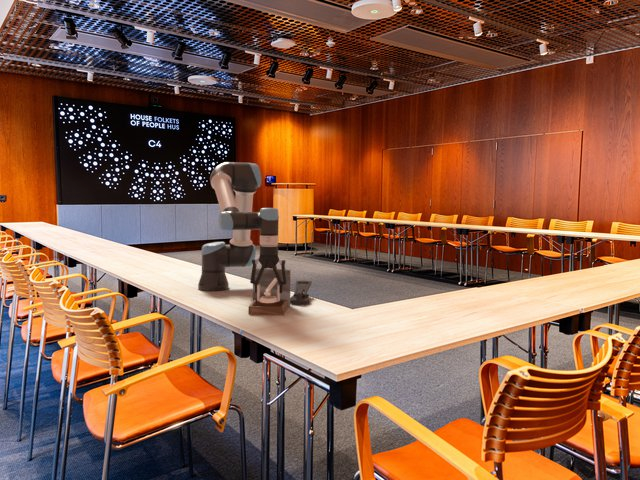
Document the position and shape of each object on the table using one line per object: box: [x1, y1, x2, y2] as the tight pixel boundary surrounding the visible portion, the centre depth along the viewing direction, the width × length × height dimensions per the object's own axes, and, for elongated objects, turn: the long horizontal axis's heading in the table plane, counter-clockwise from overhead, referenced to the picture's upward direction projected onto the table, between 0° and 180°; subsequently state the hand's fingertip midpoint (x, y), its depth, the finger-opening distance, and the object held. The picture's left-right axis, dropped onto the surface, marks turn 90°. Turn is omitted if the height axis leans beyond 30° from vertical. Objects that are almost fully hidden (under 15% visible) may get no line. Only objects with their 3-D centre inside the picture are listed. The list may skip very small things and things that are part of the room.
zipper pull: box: [290, 280, 313, 306], centre depth 222 cm, size 9×7×25 cm
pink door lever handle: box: [259, 278, 278, 303], centre depth 197 cm, size 8×12×7 cm
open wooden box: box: [247, 268, 292, 316], centre depth 199 cm, size 17×16×16 cm
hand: (268, 300), depth 198 cm, fingers closed on pink door lever handle, 8 cm apart
